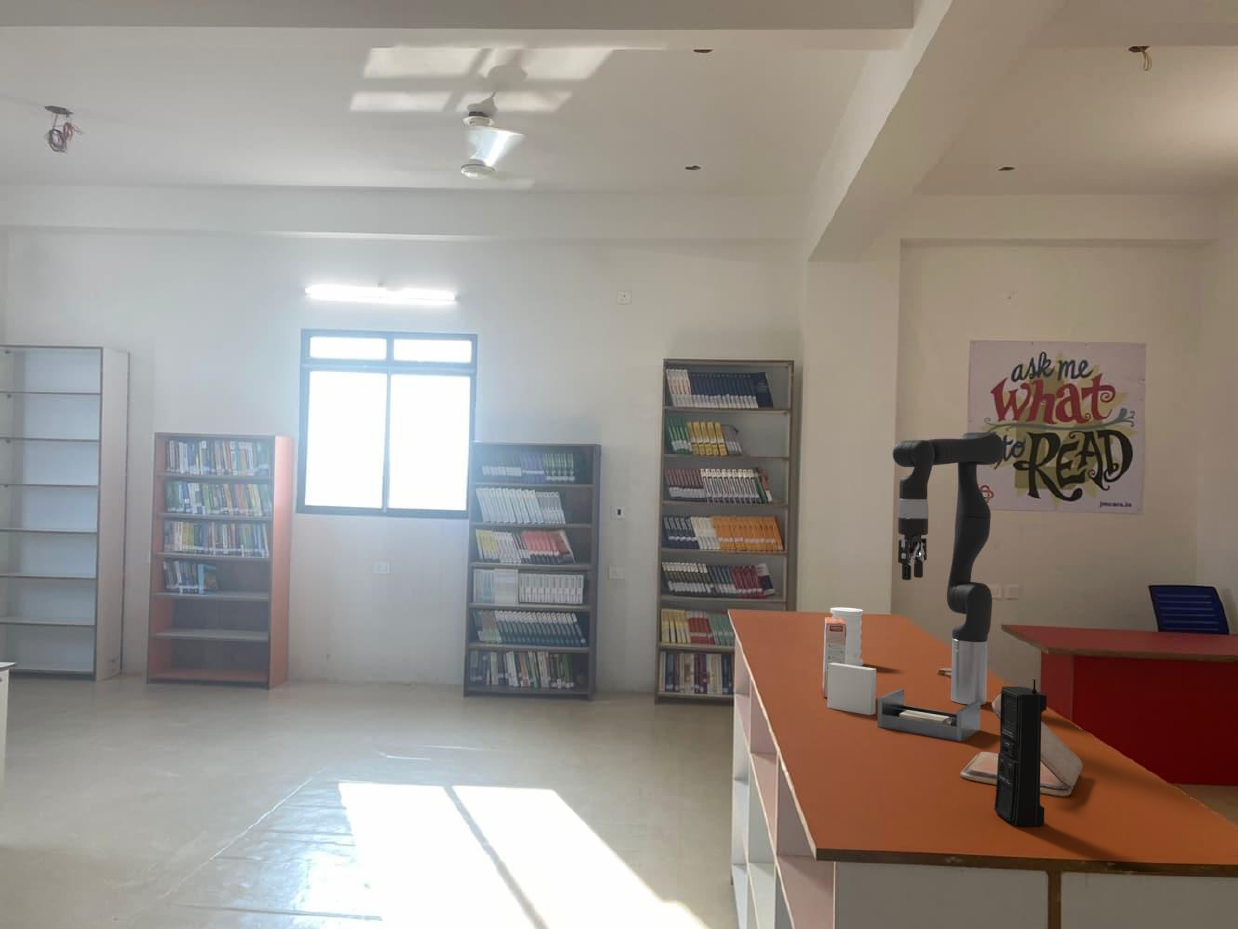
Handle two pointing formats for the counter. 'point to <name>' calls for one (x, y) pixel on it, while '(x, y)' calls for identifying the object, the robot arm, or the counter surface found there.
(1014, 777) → the portable radio
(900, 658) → the counter surface
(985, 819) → the counter surface
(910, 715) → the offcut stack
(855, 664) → the decorative container
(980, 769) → the case
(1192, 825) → the counter surface
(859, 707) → the tall board
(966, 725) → the rack
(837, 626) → the cracker box
